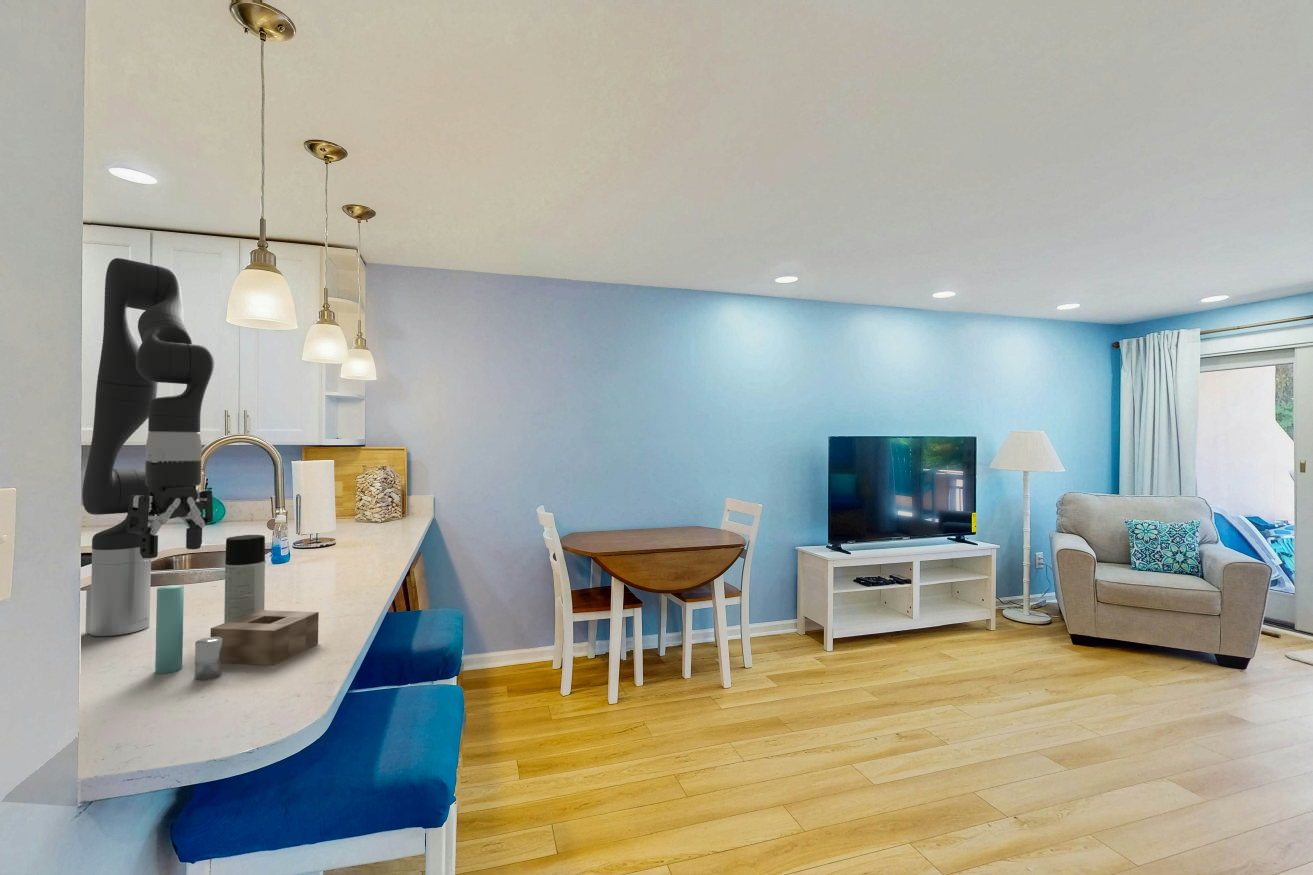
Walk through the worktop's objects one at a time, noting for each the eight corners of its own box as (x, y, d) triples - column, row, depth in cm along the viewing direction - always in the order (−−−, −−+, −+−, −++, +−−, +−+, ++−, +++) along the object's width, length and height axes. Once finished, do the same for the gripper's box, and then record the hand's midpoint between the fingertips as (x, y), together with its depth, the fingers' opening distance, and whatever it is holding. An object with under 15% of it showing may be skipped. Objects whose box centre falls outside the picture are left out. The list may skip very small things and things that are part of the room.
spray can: (272, 633, 124) (273, 535, 124) (239, 643, 117) (241, 539, 117) (248, 630, 126) (250, 533, 126) (215, 639, 119) (217, 538, 120)
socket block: (209, 662, 107) (210, 628, 107) (260, 640, 119) (260, 609, 119) (273, 665, 106) (274, 630, 106) (318, 642, 118) (318, 611, 118)
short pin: (189, 680, 99) (189, 643, 99) (207, 672, 103) (207, 636, 103) (209, 681, 99) (210, 644, 99) (227, 672, 102) (227, 637, 102)
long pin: (149, 673, 102) (151, 589, 102) (168, 665, 105) (170, 584, 106) (169, 674, 101) (171, 590, 102) (187, 666, 105) (189, 585, 105)
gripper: (189, 457, 111) (187, 546, 111) (113, 459, 97) (111, 560, 97) (227, 458, 111) (225, 547, 111) (156, 459, 97) (154, 561, 96)
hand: (172, 553), depth 104 cm, fingers open, 8 cm apart
